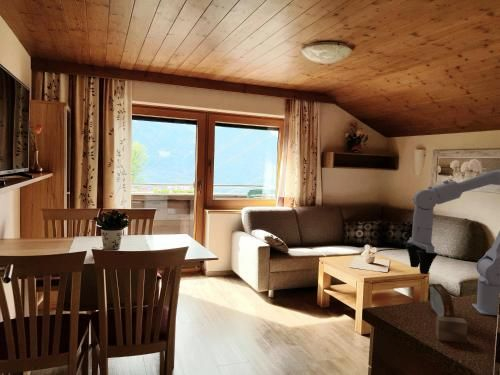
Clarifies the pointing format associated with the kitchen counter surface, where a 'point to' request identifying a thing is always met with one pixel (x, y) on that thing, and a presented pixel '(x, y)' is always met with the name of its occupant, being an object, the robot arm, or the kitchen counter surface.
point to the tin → (441, 301)
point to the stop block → (451, 329)
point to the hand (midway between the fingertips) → (419, 270)
